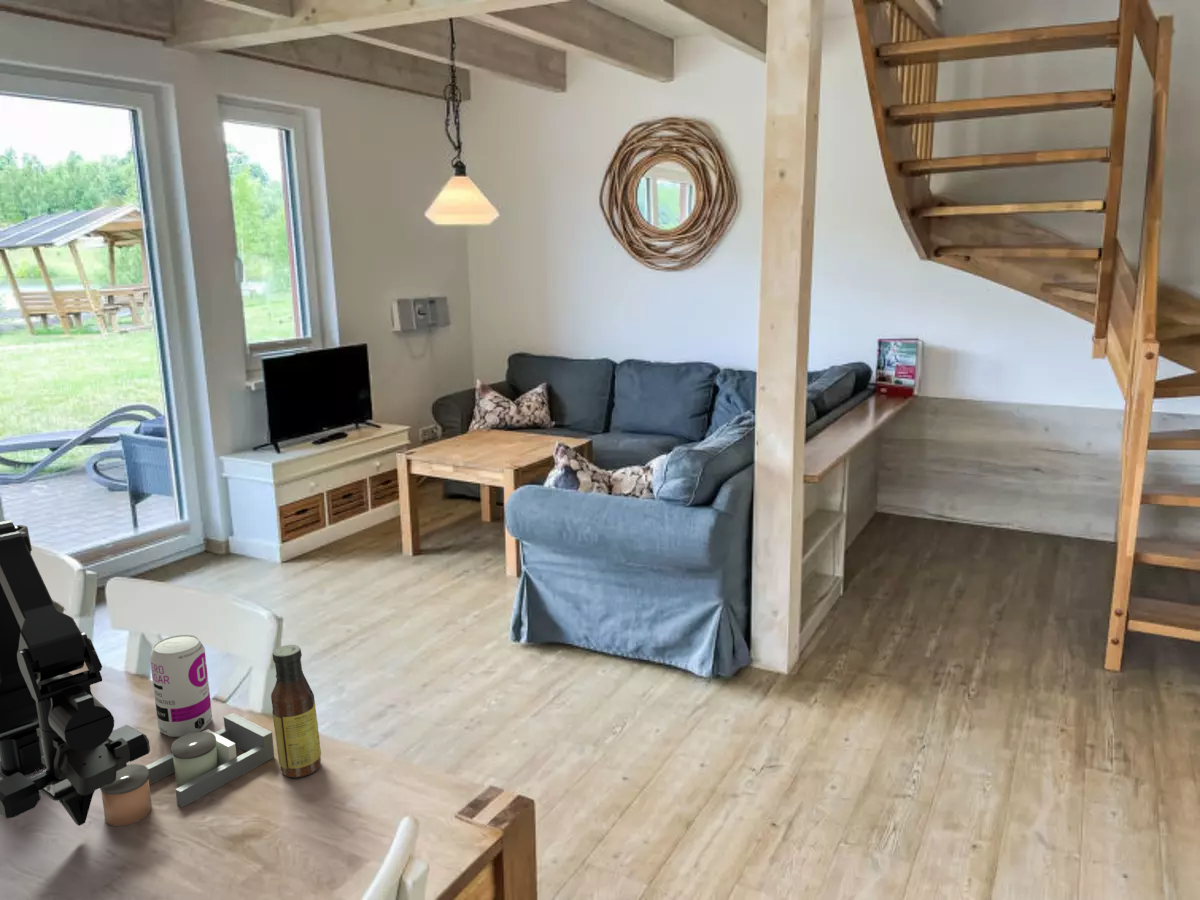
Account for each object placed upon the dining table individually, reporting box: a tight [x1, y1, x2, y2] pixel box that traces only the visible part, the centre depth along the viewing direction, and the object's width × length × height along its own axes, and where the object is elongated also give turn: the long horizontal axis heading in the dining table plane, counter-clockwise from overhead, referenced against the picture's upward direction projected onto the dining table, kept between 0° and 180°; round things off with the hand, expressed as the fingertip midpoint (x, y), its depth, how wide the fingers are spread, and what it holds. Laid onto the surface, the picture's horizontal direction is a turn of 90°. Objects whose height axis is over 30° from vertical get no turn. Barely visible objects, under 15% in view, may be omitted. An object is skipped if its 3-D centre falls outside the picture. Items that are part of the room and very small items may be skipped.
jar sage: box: [170, 731, 219, 787], centre depth 138 cm, size 6×6×6 cm
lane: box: [144, 712, 275, 808], centre depth 140 cm, size 10×16×4 cm
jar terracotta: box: [99, 763, 153, 827], centre depth 129 cm, size 6×6×6 cm
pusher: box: [202, 728, 238, 767], centre depth 141 cm, size 7×1×4 cm, turn 55°
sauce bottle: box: [270, 644, 322, 778], centre depth 138 cm, size 6×6×20 cm
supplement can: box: [149, 634, 213, 738], centre depth 151 cm, size 8×8×15 cm
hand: (80, 823), depth 124 cm, fingers closed
